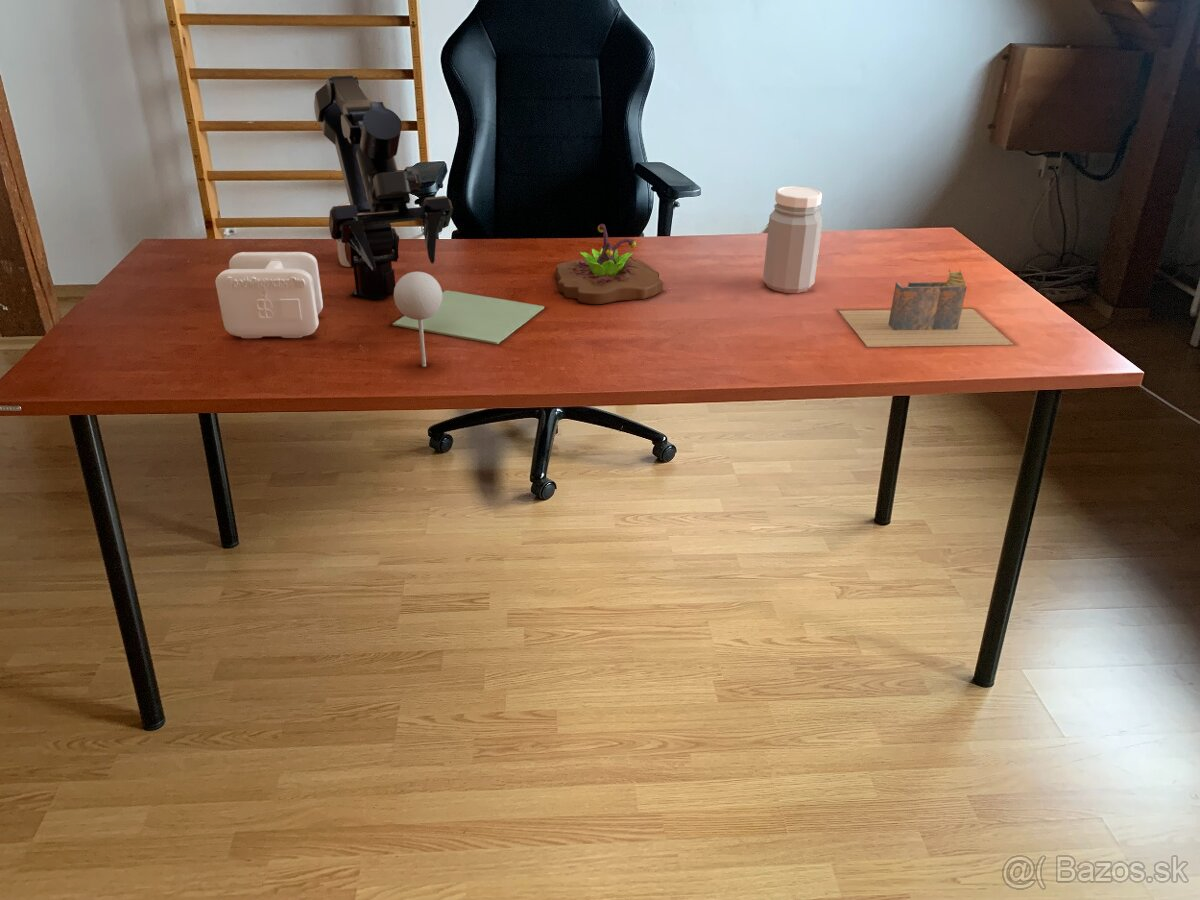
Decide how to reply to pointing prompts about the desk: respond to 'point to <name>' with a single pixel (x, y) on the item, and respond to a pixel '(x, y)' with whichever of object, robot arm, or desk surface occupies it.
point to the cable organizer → (270, 294)
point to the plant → (607, 276)
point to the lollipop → (418, 300)
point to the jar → (793, 240)
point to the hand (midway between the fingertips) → (403, 265)
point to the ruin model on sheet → (925, 318)
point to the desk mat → (475, 317)
